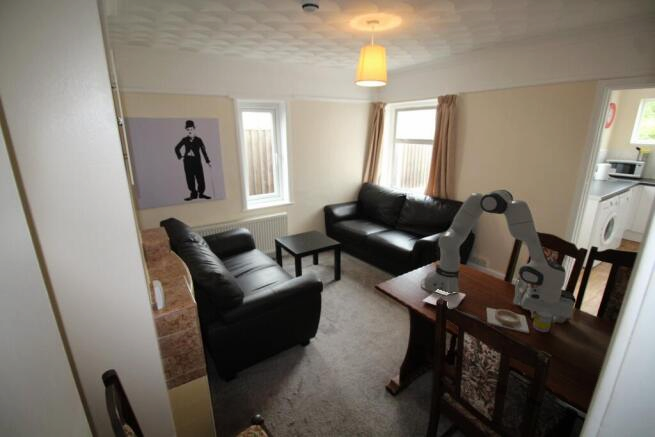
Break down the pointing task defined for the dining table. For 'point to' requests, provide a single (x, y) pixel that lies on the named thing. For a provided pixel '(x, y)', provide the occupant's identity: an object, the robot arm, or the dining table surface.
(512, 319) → the ring socket
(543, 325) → the supplement bottle
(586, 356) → the dining table surface
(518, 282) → the beer glass
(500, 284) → the dining table surface
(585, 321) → the dining table surface
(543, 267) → the robot arm
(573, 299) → the coffee cup
